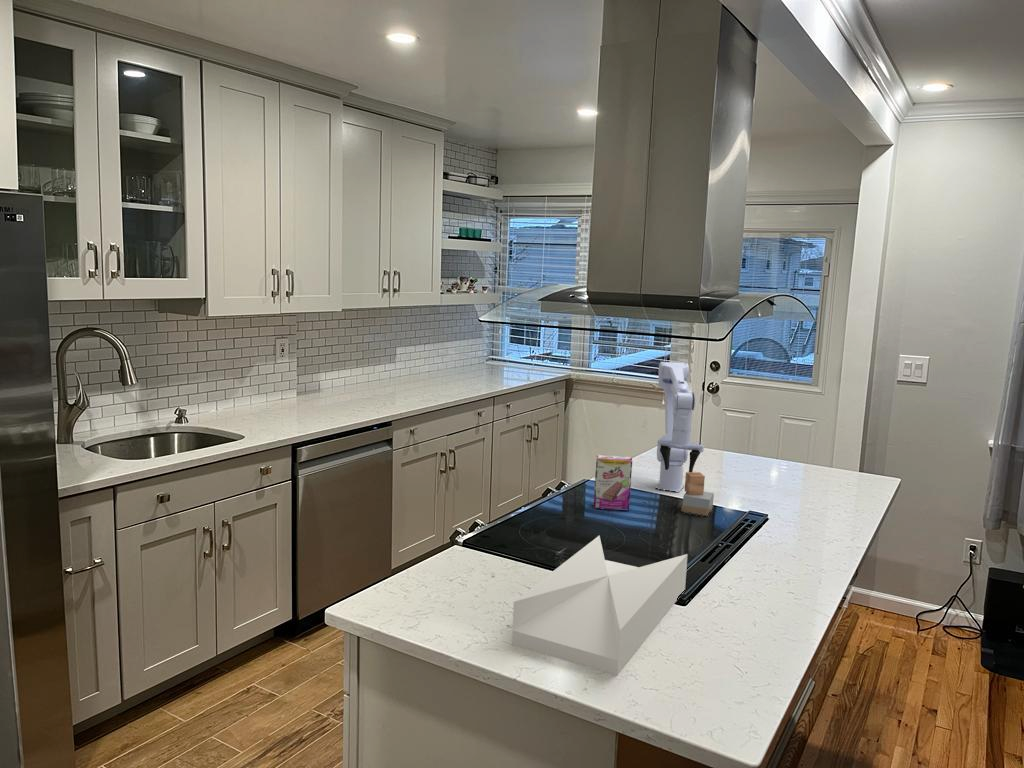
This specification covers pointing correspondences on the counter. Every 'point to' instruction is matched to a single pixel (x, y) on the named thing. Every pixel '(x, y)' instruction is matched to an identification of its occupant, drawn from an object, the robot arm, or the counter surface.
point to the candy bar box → (612, 482)
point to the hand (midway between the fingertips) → (678, 470)
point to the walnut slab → (696, 509)
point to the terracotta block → (694, 483)
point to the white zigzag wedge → (596, 608)
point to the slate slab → (698, 500)
